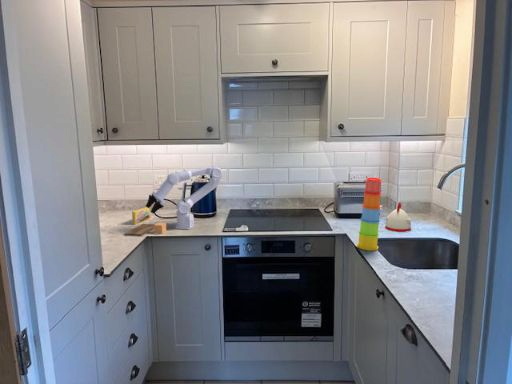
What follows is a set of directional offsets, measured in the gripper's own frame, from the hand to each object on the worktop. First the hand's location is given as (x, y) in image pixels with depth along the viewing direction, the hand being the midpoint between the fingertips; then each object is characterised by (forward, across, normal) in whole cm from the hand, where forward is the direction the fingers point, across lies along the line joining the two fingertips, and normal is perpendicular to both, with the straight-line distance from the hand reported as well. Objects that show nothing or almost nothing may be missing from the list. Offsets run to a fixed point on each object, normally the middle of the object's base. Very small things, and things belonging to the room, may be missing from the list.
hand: (149, 209), depth 216 cm
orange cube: (+6, +10, +9) cm, 14 cm away
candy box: (+13, -20, +13) cm, 27 cm away
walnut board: (+13, 0, +4) cm, 13 cm away
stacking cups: (-53, +95, +54) cm, 122 cm away
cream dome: (-76, +85, +88) cm, 144 cm away
